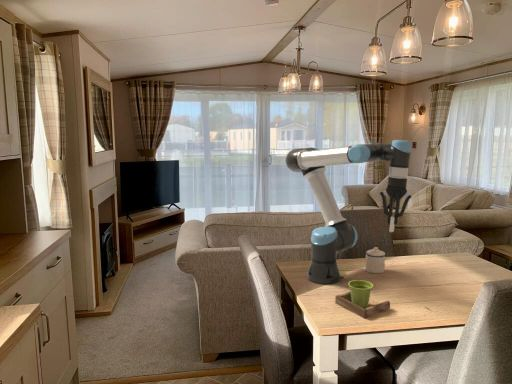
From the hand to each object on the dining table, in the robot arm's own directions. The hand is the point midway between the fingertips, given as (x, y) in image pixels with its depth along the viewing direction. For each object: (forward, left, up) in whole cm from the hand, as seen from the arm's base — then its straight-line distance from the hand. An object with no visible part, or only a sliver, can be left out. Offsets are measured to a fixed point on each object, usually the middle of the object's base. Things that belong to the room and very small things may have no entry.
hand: (391, 231), depth 170 cm
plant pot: (-7, -24, -25) cm, 36 cm away
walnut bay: (-6, -25, -25) cm, 36 cm away
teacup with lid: (-11, +19, -25) cm, 33 cm away
